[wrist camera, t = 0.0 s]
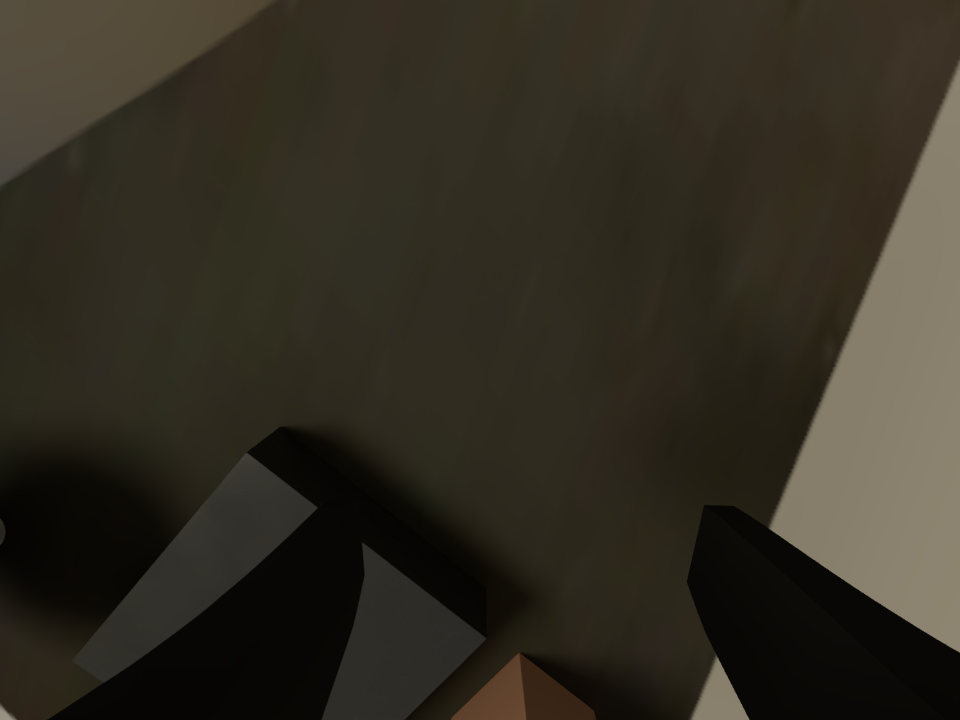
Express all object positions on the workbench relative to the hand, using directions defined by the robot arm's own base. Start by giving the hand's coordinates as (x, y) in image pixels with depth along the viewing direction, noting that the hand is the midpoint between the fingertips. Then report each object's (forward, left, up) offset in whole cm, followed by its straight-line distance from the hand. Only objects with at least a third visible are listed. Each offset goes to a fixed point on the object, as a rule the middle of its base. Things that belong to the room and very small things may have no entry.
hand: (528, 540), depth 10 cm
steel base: (-13, +1, -11) cm, 17 cm away
